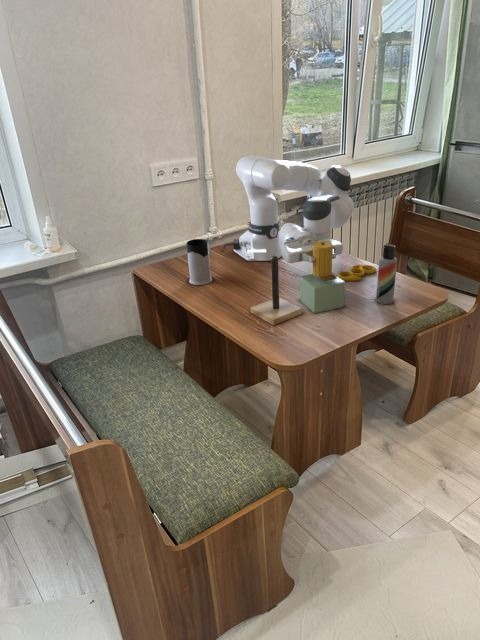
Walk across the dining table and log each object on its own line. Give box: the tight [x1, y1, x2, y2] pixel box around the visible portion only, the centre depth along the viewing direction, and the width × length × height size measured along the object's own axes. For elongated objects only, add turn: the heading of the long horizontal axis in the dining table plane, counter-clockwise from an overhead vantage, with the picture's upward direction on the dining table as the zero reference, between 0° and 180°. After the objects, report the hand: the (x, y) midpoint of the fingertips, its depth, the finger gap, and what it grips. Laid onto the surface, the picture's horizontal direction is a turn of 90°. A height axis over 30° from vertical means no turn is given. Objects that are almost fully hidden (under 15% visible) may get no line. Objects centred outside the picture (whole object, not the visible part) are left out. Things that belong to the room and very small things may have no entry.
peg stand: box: [250, 255, 303, 326], centre depth 170 cm, size 12×12×20 cm
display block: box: [299, 272, 346, 314], centre depth 178 cm, size 11×11×9 cm
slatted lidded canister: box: [312, 241, 337, 281], centre depth 171 cm, size 9×6×11 cm
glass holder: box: [186, 238, 213, 286], centre depth 200 cm, size 9×14×15 cm, turn 159°
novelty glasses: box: [336, 264, 377, 282], centre depth 200 cm, size 17×2×10 cm
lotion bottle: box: [375, 242, 398, 305], centre depth 175 cm, size 6×6×20 cm
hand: (323, 258), depth 171 cm, fingers closed on slatted lidded canister, 6 cm apart
